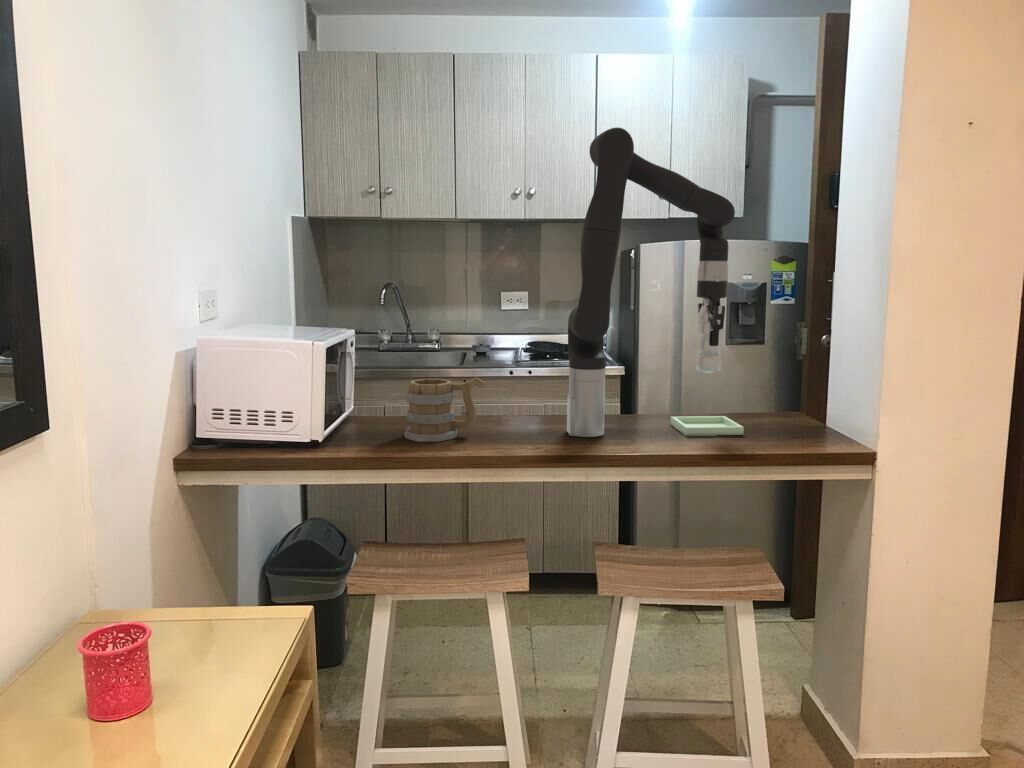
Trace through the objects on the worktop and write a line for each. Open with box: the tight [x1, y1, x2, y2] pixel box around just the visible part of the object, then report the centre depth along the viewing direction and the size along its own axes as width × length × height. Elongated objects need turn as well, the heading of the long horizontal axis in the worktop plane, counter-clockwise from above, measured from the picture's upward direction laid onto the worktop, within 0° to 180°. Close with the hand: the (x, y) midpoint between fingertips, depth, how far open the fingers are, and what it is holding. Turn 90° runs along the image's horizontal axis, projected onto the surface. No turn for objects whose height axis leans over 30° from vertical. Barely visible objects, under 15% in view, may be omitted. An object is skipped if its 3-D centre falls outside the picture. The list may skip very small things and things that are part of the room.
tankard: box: [404, 376, 486, 443], centre depth 185 cm, size 20×13×15 cm, turn 89°
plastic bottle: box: [695, 298, 723, 375], centre depth 191 cm, size 6×7×20 cm
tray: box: [670, 415, 745, 437], centre depth 194 cm, size 15×14×2 cm
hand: (709, 344), depth 191 cm, fingers closed on plastic bottle, 6 cm apart
